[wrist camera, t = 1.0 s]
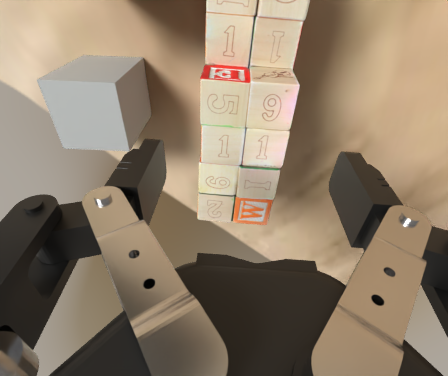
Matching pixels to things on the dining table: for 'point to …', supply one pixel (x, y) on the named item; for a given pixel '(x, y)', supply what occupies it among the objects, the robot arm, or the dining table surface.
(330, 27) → the dining table surface
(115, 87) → the grey rectangular block
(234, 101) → the stack of blocks
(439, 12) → the dining table surface
